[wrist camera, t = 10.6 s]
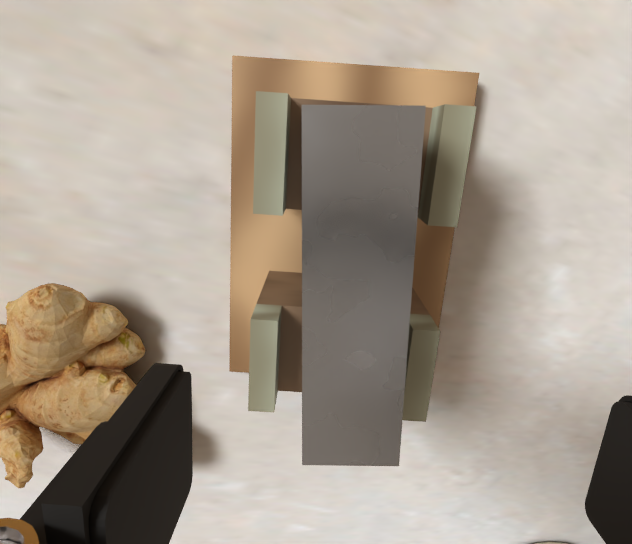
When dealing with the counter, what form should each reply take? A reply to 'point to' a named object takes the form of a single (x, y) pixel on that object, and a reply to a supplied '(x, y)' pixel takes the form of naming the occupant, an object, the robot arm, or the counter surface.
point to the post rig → (286, 209)
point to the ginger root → (59, 371)
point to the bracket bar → (357, 277)
